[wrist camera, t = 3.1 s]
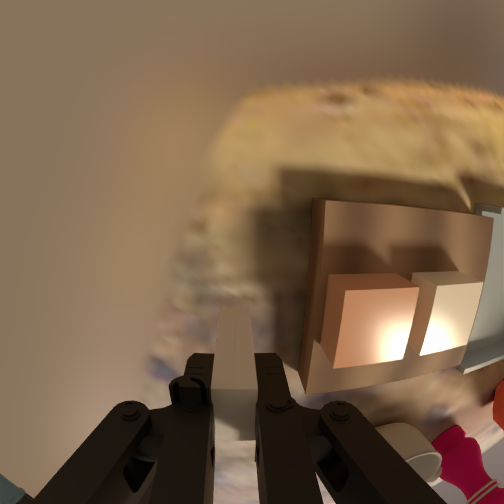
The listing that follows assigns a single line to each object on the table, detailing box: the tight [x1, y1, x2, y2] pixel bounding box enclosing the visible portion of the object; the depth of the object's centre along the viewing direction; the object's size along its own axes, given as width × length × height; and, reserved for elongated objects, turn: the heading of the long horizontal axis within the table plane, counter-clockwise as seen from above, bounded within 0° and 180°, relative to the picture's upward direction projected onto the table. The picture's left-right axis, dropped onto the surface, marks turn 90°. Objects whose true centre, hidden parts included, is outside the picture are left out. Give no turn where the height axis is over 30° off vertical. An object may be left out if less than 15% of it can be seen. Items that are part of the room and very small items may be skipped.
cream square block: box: [407, 271, 483, 355], centre depth 17 cm, size 5×5×3 cm
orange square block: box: [320, 273, 419, 369], centre depth 17 cm, size 5×5×3 cm
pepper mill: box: [431, 426, 504, 504], centre depth 18 cm, size 7×7×20 cm
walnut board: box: [298, 198, 494, 394], centre depth 20 cm, size 16×14×3 cm
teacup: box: [375, 423, 442, 483], centre depth 22 cm, size 14×11×8 cm
